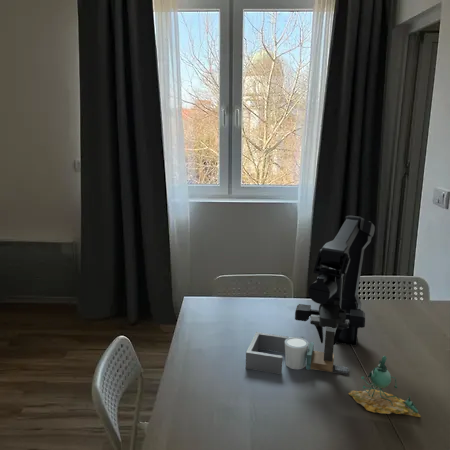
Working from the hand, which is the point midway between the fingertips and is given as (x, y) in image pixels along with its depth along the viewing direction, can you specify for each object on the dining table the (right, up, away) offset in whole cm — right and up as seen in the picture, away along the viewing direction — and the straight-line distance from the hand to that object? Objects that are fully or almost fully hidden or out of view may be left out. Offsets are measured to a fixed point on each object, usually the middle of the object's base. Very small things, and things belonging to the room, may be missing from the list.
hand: (328, 343), depth 131 cm
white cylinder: (-9, -7, +4) cm, 12 cm away
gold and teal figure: (+10, -12, -15) cm, 22 cm away
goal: (-16, -6, +6) cm, 18 cm away
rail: (+1, -8, +1) cm, 8 cm away
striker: (-2, -6, +2) cm, 7 cm away
